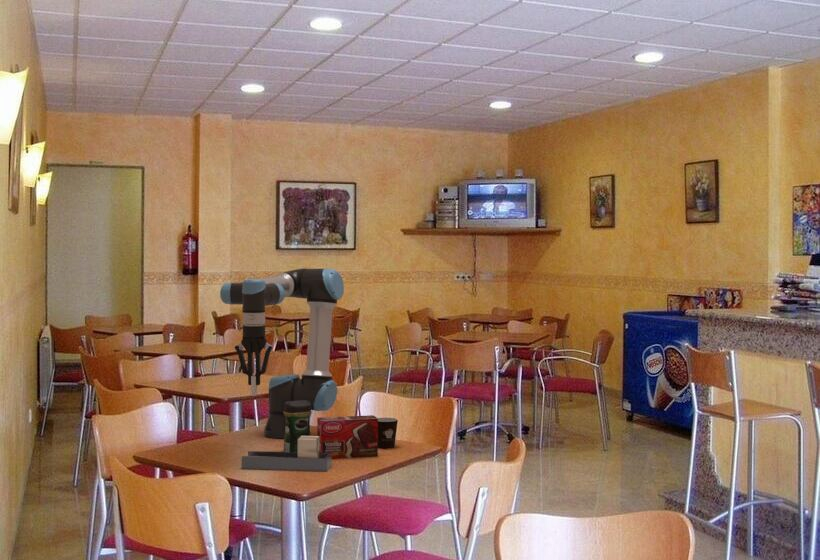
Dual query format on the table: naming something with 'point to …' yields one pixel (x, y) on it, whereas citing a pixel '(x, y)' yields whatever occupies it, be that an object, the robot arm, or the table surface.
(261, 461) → the chute
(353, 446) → the ice cream box
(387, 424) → the coffee mug
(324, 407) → the robot arm
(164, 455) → the table surface
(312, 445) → the block
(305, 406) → the coffee jar
